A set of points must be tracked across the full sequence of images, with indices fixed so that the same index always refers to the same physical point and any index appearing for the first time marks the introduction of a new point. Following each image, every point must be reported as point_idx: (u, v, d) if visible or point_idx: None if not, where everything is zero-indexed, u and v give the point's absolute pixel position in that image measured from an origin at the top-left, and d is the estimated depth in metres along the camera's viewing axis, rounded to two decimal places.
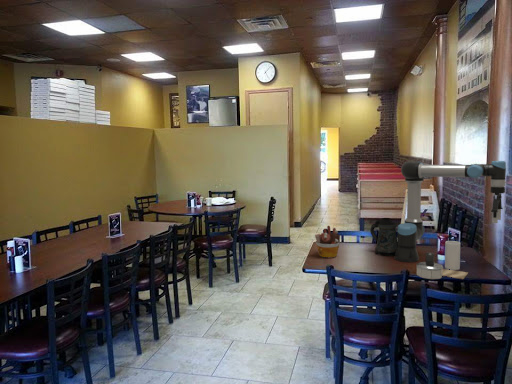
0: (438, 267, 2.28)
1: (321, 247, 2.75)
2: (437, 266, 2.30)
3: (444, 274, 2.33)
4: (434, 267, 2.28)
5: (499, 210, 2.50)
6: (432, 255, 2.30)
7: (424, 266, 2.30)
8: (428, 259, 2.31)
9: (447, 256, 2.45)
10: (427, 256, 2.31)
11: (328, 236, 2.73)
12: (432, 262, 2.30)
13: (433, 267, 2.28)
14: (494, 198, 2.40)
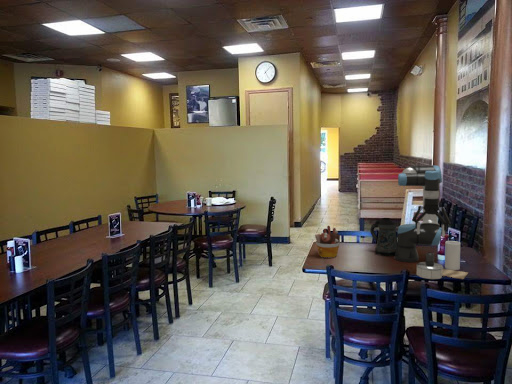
0: (438, 267, 2.28)
1: (321, 247, 2.75)
2: (437, 266, 2.30)
3: (444, 274, 2.33)
4: (434, 267, 2.28)
5: None
6: (432, 255, 2.30)
7: (424, 266, 2.30)
8: (428, 259, 2.31)
9: (447, 256, 2.45)
10: (427, 256, 2.31)
11: (328, 236, 2.73)
12: (432, 262, 2.30)
13: (433, 267, 2.28)
14: None
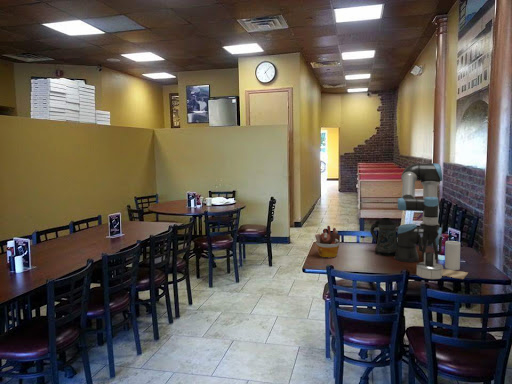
0: (438, 267, 2.28)
1: (321, 247, 2.75)
2: (437, 266, 2.30)
3: (444, 274, 2.33)
4: (434, 267, 2.28)
5: None
6: (432, 255, 2.30)
7: (424, 266, 2.30)
8: (428, 259, 2.31)
9: (447, 256, 2.45)
10: (427, 256, 2.31)
11: (328, 236, 2.73)
12: (432, 262, 2.30)
13: (433, 267, 2.28)
14: None
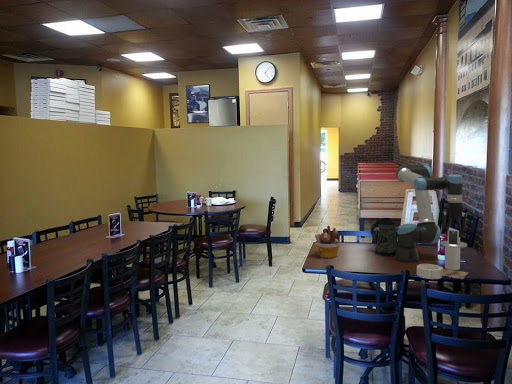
0: (462, 245, 2.28)
1: (321, 247, 2.75)
2: (461, 244, 2.30)
3: (444, 274, 2.33)
4: (458, 245, 2.28)
5: None
6: (456, 233, 2.30)
7: (448, 244, 2.31)
8: (452, 237, 2.31)
9: (447, 256, 2.45)
10: (451, 234, 2.31)
11: (328, 236, 2.73)
12: (456, 240, 2.31)
13: (458, 245, 2.28)
14: None
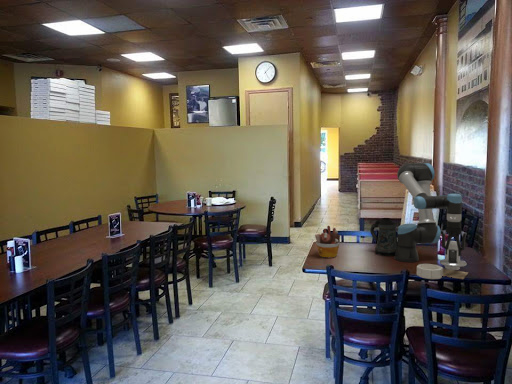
0: (462, 264, 2.29)
1: (321, 247, 2.75)
2: (460, 263, 2.31)
3: (444, 274, 2.33)
4: (458, 264, 2.29)
5: (457, 251, 2.32)
6: (455, 252, 2.31)
7: (447, 263, 2.32)
8: (451, 256, 2.32)
9: None
10: (450, 253, 2.32)
11: (328, 236, 2.73)
12: (455, 259, 2.32)
13: (457, 264, 2.29)
14: None
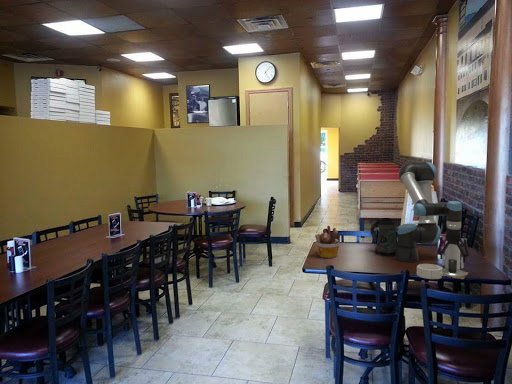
0: (461, 274, 2.30)
1: (321, 247, 2.75)
2: (460, 273, 2.32)
3: None
4: (457, 274, 2.30)
5: None
6: (455, 262, 2.32)
7: (447, 273, 2.33)
8: (451, 266, 2.33)
9: (447, 256, 2.45)
10: (450, 263, 2.33)
11: (328, 236, 2.73)
12: (455, 269, 2.32)
13: (456, 274, 2.30)
14: None
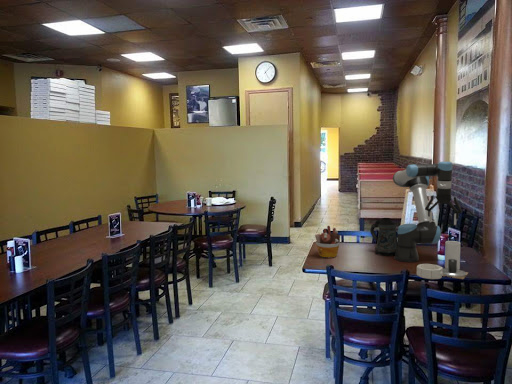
0: (461, 274, 2.30)
1: (321, 247, 2.75)
2: (460, 273, 2.32)
3: None
4: (457, 274, 2.30)
5: None
6: (455, 262, 2.32)
7: (447, 273, 2.33)
8: (451, 266, 2.33)
9: (447, 256, 2.45)
10: (450, 263, 2.33)
11: (328, 236, 2.73)
12: (455, 269, 2.32)
13: (456, 274, 2.30)
14: None
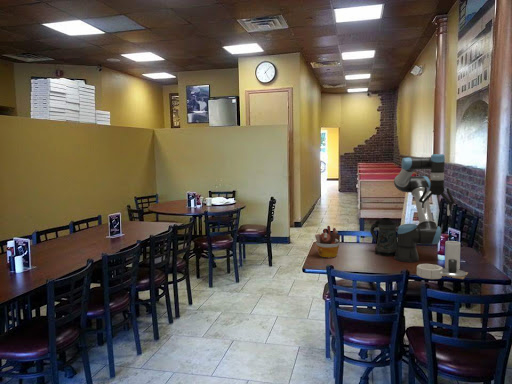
0: (461, 274, 2.30)
1: (321, 247, 2.75)
2: (460, 273, 2.32)
3: None
4: (457, 274, 2.30)
5: None
6: (455, 262, 2.32)
7: (447, 273, 2.33)
8: (451, 266, 2.33)
9: (447, 256, 2.45)
10: (450, 263, 2.33)
11: (328, 236, 2.73)
12: (455, 269, 2.32)
13: (457, 274, 2.30)
14: None
